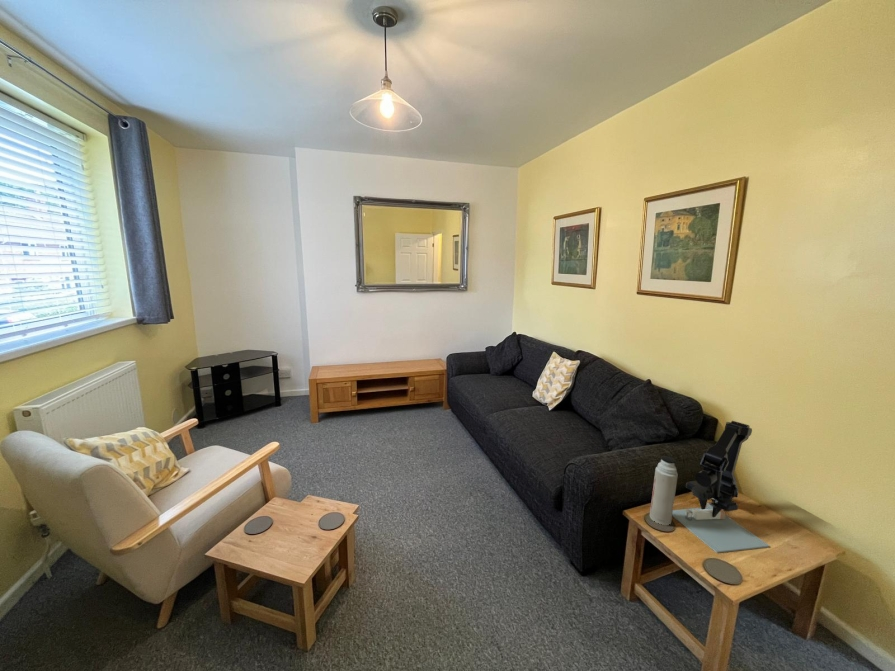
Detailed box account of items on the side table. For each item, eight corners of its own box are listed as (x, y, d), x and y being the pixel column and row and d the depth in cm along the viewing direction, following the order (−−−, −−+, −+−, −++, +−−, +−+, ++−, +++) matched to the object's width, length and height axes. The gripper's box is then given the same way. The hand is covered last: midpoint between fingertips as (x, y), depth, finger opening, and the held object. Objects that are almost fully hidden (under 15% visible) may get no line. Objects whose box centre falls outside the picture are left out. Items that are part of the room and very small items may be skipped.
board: (713, 507, 158) (713, 506, 158) (769, 547, 135) (769, 545, 135) (667, 511, 154) (667, 510, 154) (716, 552, 131) (716, 551, 131)
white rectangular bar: (696, 519, 148) (697, 513, 148) (691, 515, 151) (692, 509, 150) (724, 518, 149) (725, 512, 149) (719, 515, 152) (720, 508, 151)
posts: (710, 509, 157) (711, 501, 156) (718, 514, 154) (719, 506, 153) (681, 517, 151) (682, 508, 150) (689, 522, 148) (690, 513, 147)
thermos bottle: (647, 518, 149) (654, 457, 145) (652, 510, 155) (660, 452, 151) (668, 528, 144) (676, 465, 140) (673, 519, 149) (681, 458, 145)
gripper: (678, 470, 156) (674, 503, 158) (719, 493, 138) (715, 530, 140) (697, 468, 159) (693, 500, 160) (740, 490, 141) (736, 526, 142)
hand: (708, 513), depth 151 cm, fingers open, 4 cm apart
